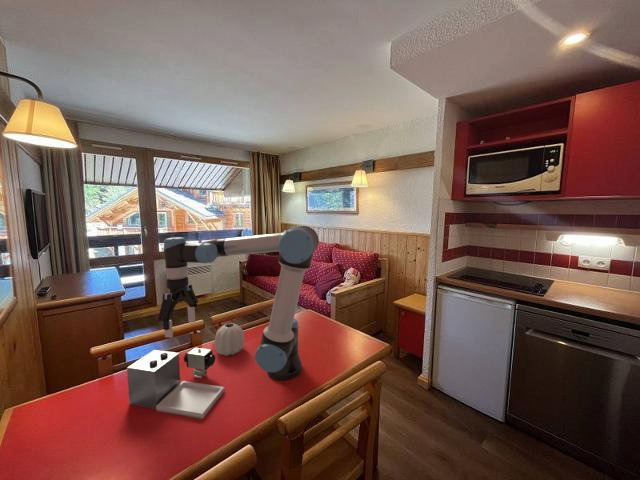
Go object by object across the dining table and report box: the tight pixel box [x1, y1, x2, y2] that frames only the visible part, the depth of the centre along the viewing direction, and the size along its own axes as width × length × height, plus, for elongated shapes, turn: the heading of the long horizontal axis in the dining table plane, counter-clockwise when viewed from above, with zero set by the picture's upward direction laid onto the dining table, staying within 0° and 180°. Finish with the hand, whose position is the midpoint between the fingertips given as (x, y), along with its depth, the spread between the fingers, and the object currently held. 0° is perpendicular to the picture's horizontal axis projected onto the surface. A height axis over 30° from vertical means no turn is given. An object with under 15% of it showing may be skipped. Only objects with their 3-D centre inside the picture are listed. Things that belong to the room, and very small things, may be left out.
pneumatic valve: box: [183, 347, 216, 379], centre depth 111 cm, size 6×12×12 cm, turn 78°
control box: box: [126, 349, 181, 410], centre depth 98 cm, size 11×12×15 cm
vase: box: [214, 322, 245, 357], centre depth 130 cm, size 14×14×13 cm
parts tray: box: [155, 380, 225, 420], centre depth 97 cm, size 18×14×2 cm
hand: (181, 328), depth 106 cm, fingers open, 13 cm apart
